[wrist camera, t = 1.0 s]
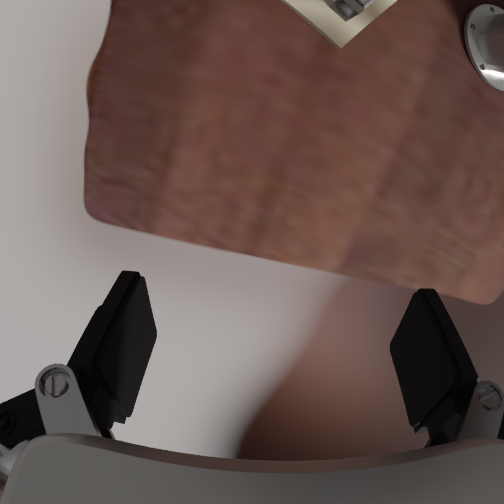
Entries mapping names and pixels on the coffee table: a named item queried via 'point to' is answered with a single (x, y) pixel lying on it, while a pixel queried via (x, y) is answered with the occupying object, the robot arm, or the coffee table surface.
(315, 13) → the base
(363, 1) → the lever
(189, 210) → the coffee table surface
